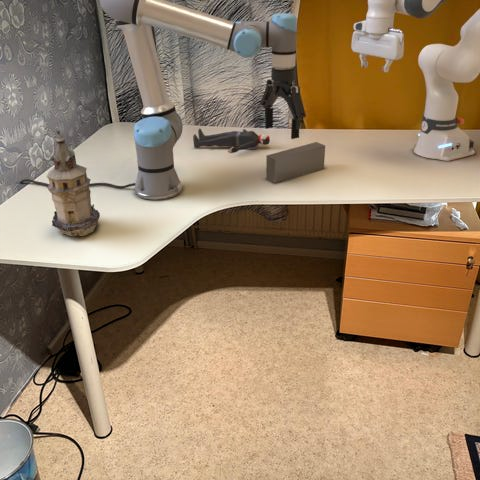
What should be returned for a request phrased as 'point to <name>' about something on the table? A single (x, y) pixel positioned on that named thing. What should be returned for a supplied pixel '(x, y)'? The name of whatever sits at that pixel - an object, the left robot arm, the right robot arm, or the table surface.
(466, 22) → the right robot arm
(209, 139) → the toy
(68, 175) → the miniature building
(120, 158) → the table surface
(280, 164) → the bar
